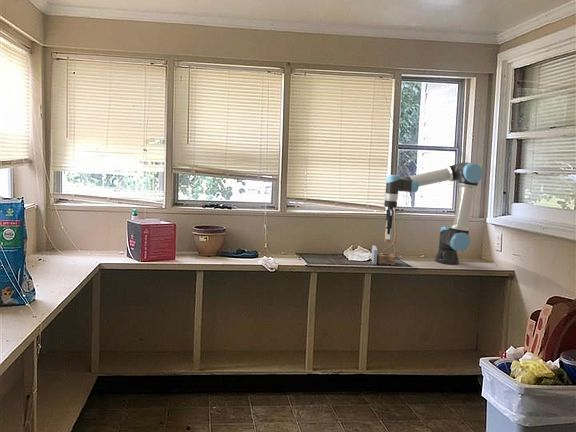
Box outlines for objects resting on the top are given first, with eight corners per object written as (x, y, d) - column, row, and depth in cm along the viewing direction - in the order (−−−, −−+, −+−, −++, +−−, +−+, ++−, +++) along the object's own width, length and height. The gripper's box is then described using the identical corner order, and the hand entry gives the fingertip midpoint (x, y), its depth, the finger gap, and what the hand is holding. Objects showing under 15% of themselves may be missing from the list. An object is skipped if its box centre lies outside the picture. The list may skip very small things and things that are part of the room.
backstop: (374, 259, 380) (375, 245, 379) (376, 264, 364) (377, 250, 363) (370, 259, 380) (372, 245, 379) (373, 264, 364) (374, 249, 363)
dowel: (389, 241, 372) (391, 220, 370) (390, 242, 368) (392, 221, 367) (384, 241, 372) (386, 220, 370) (384, 242, 368) (386, 220, 367)
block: (392, 261, 376) (393, 253, 376) (394, 264, 366) (395, 256, 366) (376, 260, 377) (377, 252, 376) (378, 263, 367) (378, 255, 366)
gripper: (383, 198, 375) (379, 236, 378) (386, 201, 359) (382, 240, 362) (395, 199, 375) (392, 237, 378) (398, 202, 359) (395, 241, 362)
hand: (387, 238), depth 370 cm, fingers closed on dowel, 3 cm apart
